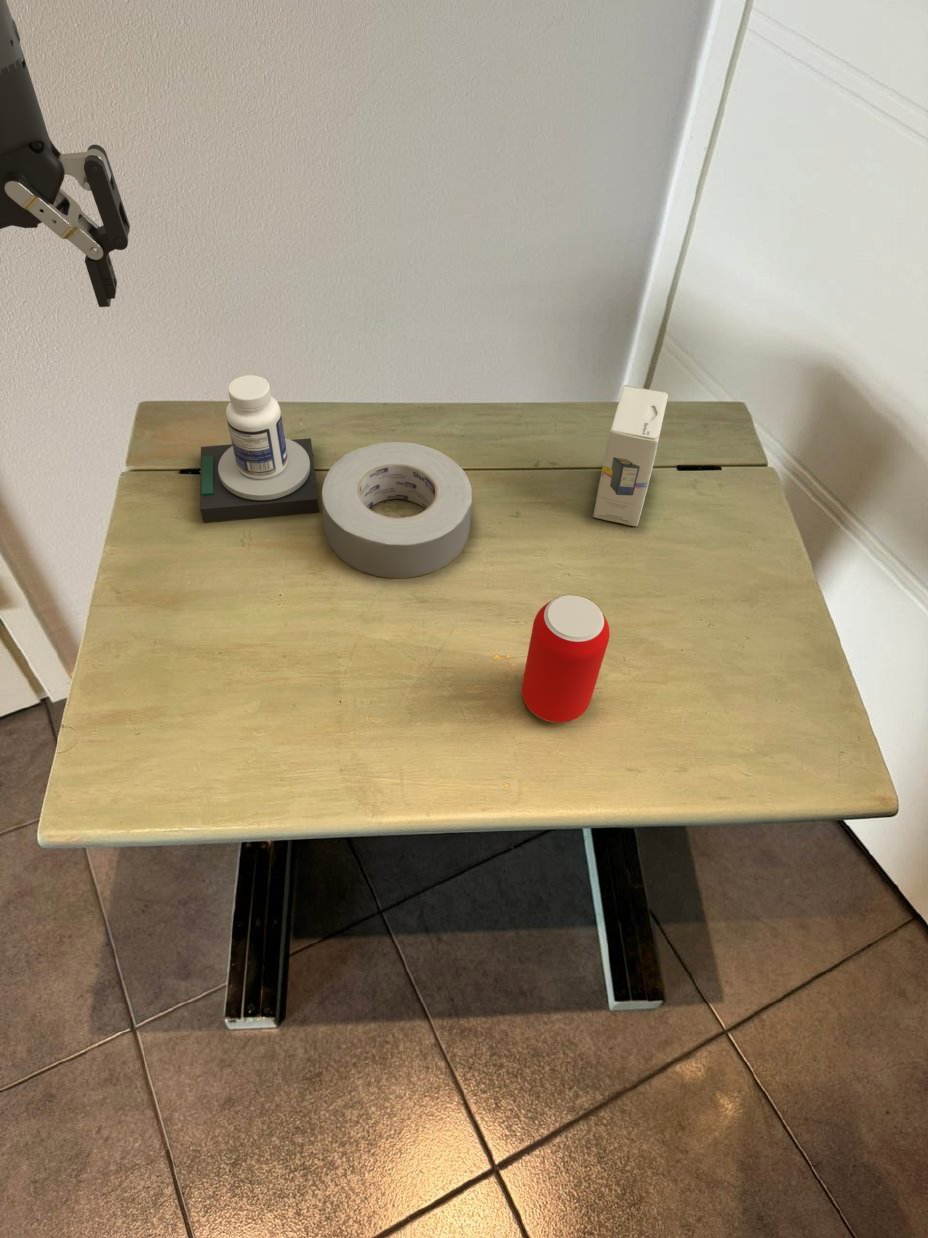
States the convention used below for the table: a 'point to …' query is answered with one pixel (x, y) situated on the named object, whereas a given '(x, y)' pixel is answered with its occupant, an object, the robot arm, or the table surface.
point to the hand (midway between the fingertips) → (45, 304)
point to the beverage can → (564, 658)
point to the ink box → (630, 455)
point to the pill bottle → (256, 428)
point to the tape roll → (389, 539)
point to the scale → (256, 485)
